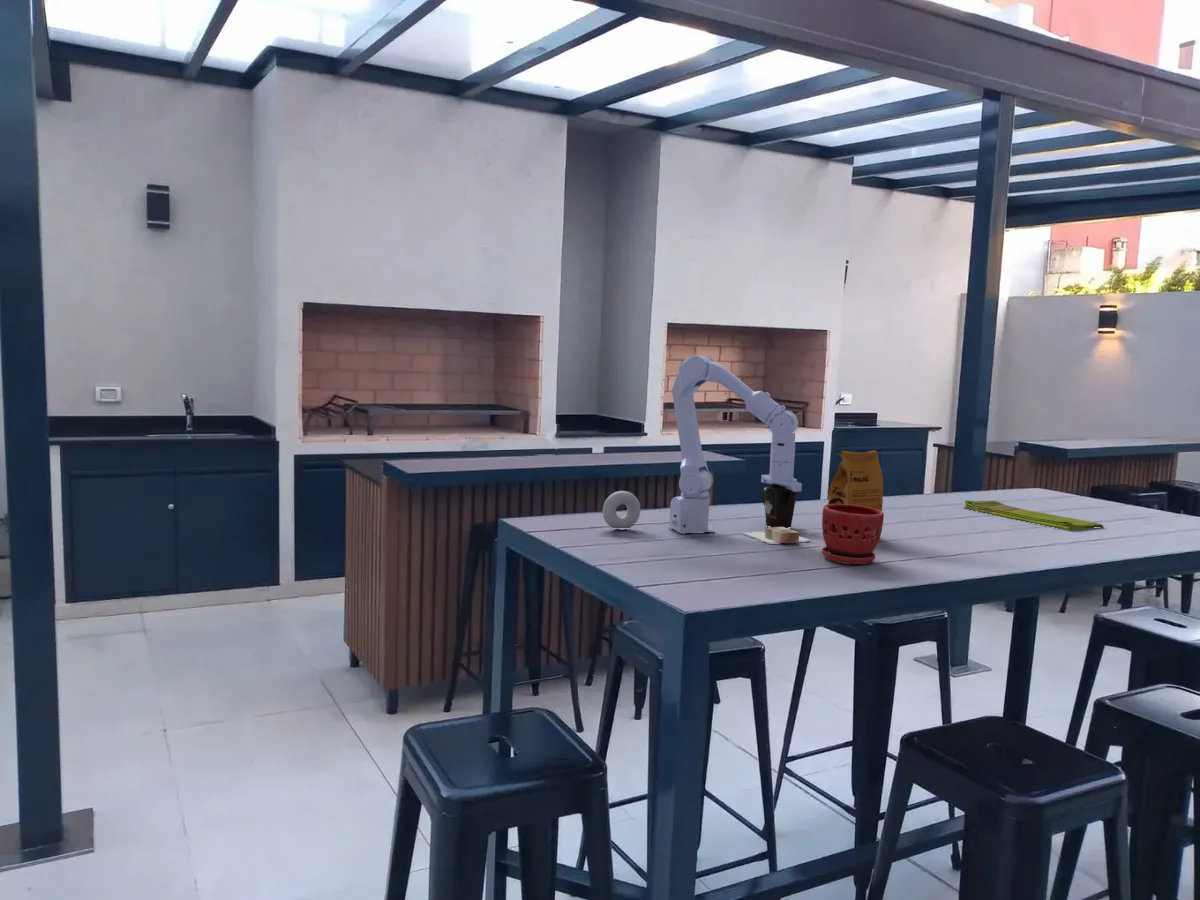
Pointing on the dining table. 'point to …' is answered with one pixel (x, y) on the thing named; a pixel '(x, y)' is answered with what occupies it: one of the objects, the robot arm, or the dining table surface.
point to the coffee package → (858, 481)
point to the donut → (614, 502)
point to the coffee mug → (769, 514)
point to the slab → (781, 535)
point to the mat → (762, 537)
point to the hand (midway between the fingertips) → (779, 516)
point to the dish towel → (1029, 515)
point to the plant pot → (851, 533)
